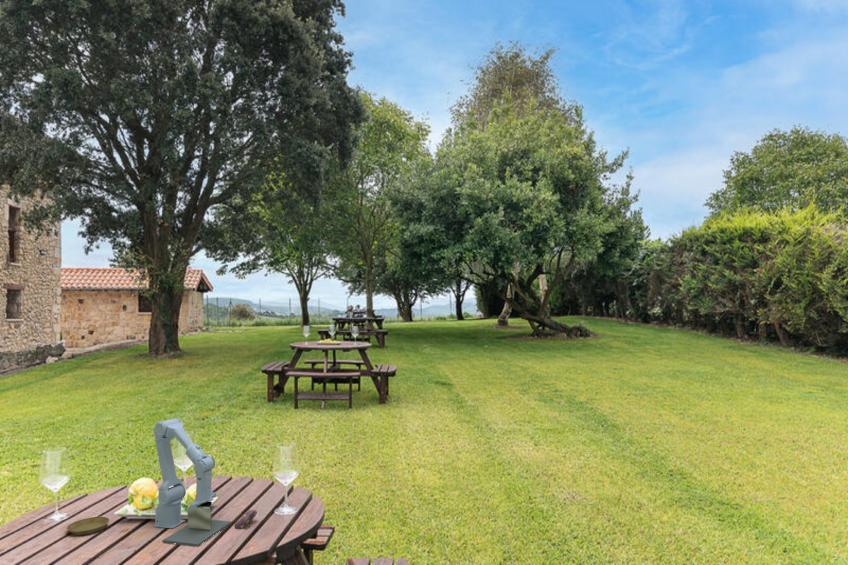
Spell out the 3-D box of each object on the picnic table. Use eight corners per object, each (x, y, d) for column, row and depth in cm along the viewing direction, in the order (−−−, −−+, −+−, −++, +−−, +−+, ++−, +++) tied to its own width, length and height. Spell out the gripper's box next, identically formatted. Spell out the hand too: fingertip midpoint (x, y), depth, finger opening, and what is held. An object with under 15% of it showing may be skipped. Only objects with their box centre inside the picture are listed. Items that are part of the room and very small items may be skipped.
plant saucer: (71, 541, 197) (72, 534, 197) (62, 530, 207) (62, 523, 207) (113, 529, 208) (114, 523, 208) (103, 520, 218) (103, 513, 218)
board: (162, 542, 196) (162, 540, 196) (198, 520, 217) (198, 518, 217) (198, 546, 192) (198, 544, 192) (231, 523, 214) (231, 521, 214)
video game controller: (241, 533, 208) (248, 518, 208) (232, 527, 209) (239, 512, 209) (253, 523, 218) (260, 509, 218) (245, 518, 219) (252, 504, 219)
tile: (211, 528, 205) (209, 529, 204) (190, 525, 207) (188, 527, 206) (210, 507, 205) (208, 508, 204) (189, 505, 207) (187, 506, 206)
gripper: (201, 493, 200) (200, 528, 199) (222, 482, 215) (221, 514, 214) (185, 492, 202) (184, 527, 201) (208, 481, 216) (207, 513, 215)
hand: (202, 520), depth 207 cm, fingers closed
